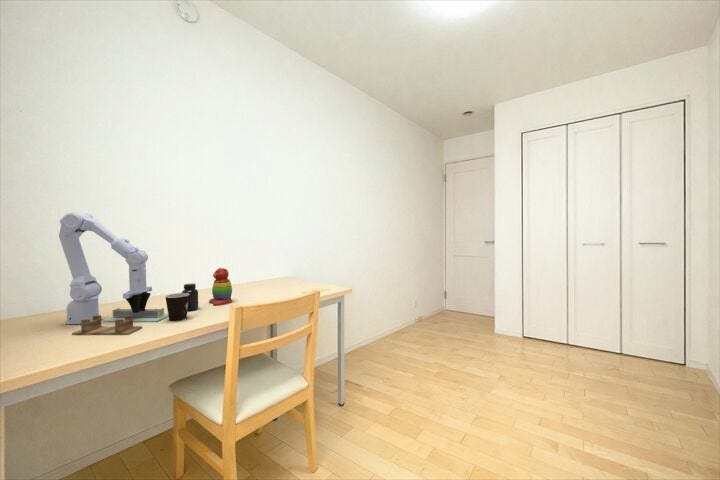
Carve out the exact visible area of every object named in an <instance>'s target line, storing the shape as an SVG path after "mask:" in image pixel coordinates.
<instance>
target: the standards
mask: <svg viewBox="0 0 720 480" xmlns="http://www.w3.org/2000/svg"><path fill="white" fill-rule="evenodd" d="M101 317H102V316H101V315H100V314H99V315H94V316H93V320H91V321H90V319H83V320H81V324H80V327H81V329H79V330H75V331H72V332H71V336H102V335H103V336H116V335H117V336H129V335H132V334H133V333H135V332H138V331H139V330H142V329H143V326H142V325H137V326H135V325H134V322H133V315H126V316H125V320H123V319H116V320H115V322H114V325H113V326H109V325H103V326H102V319H101Z"/></svg>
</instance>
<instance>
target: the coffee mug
mask: <svg viewBox="0 0 720 480" xmlns="http://www.w3.org/2000/svg"><path fill="white" fill-rule="evenodd" d="M188 301H189V294H188V293H182V292H181V293H179V292H178V293H171V294H167V295H165V303H166V304H165V305H166V309H167V314H168V316H169V317H168V321H170V322H178V321H183V320H186V319H187V318H188V317H187V316H188V311H187V310H188Z"/></svg>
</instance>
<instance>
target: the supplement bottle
mask: <svg viewBox="0 0 720 480" xmlns="http://www.w3.org/2000/svg"><path fill="white" fill-rule="evenodd" d="M196 287H197V286H196V283H184V284H183V290H182V291H181V293H188V294H189V301H188V310H187V312H192V311H196V310H198V309H199V290H198V289H196Z"/></svg>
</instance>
